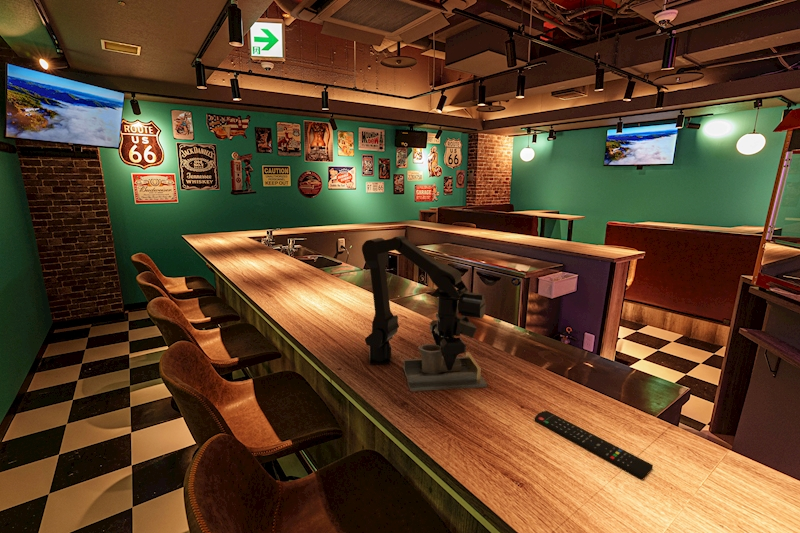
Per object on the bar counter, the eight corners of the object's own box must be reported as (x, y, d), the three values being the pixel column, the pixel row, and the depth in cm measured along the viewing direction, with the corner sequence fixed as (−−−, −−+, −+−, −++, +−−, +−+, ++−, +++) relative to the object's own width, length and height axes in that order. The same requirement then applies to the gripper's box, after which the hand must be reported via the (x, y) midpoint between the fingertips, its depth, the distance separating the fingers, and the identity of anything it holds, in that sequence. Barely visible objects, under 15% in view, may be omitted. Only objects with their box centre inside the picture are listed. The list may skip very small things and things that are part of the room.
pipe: (461, 377, 109) (463, 352, 107) (418, 377, 109) (419, 351, 107) (458, 367, 115) (459, 343, 113) (417, 367, 115) (417, 342, 113)
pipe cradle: (410, 391, 103) (410, 374, 102) (403, 367, 117) (403, 352, 116) (486, 387, 106) (487, 370, 105) (471, 364, 119) (472, 349, 118)
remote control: (641, 482, 73) (642, 476, 72) (532, 421, 91) (532, 417, 91) (651, 470, 76) (652, 464, 76) (544, 414, 94) (544, 409, 94)
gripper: (485, 323, 99) (482, 376, 102) (465, 302, 117) (462, 348, 120) (445, 324, 98) (442, 379, 101) (430, 303, 116) (428, 349, 119)
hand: (445, 362), depth 110 cm, fingers open, 9 cm apart
